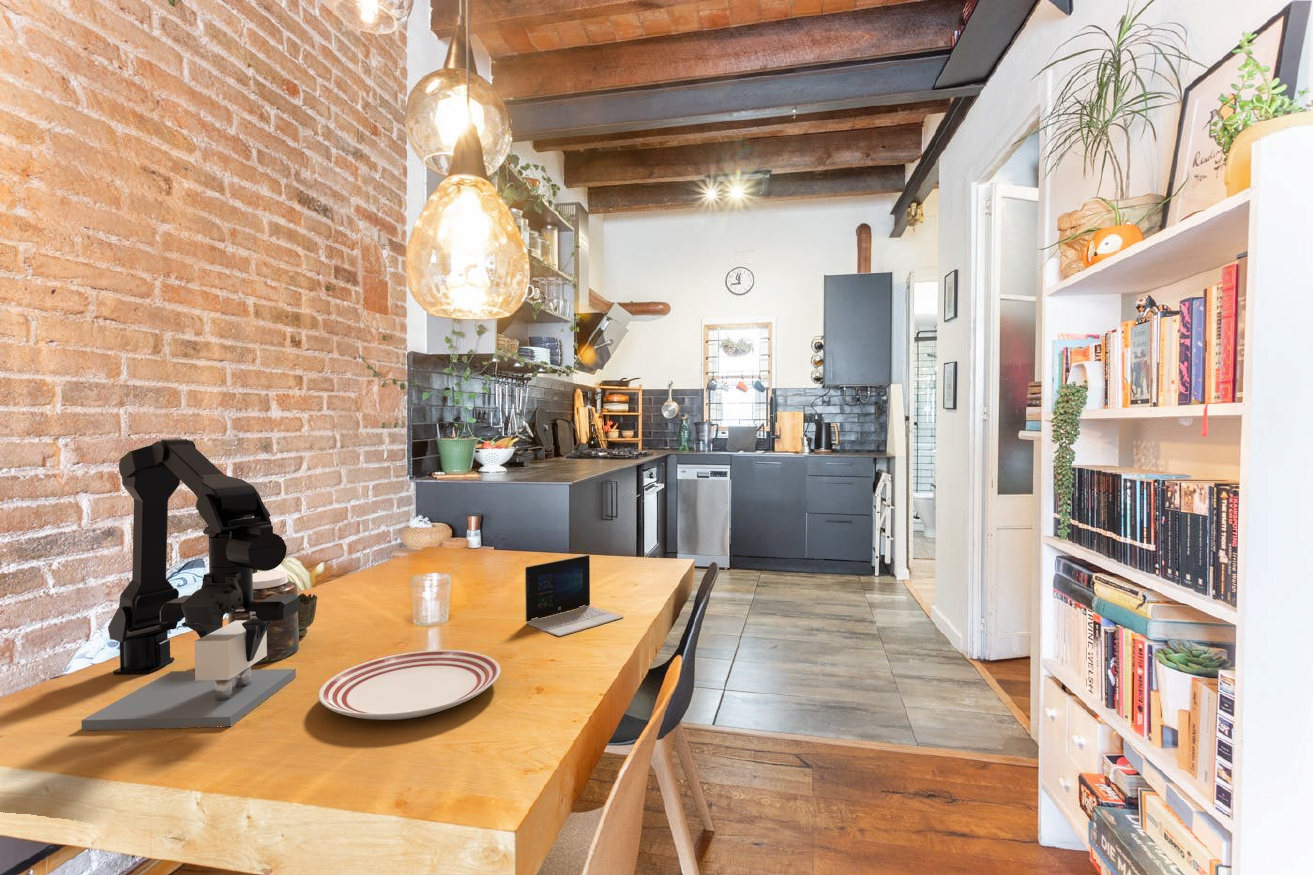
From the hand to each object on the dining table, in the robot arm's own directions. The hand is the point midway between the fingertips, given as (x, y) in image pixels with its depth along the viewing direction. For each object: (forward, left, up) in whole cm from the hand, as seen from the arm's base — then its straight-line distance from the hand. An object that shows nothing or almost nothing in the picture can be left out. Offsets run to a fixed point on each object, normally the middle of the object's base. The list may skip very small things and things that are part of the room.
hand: (232, 661), depth 101 cm
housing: (0, 0, -1) cm, 1 cm away
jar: (-7, +21, -7) cm, 23 cm away
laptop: (+51, +38, -7) cm, 64 cm away
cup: (-6, +31, -7) cm, 32 cm away
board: (-5, 0, -6) cm, 8 cm away
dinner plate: (+28, +1, -7) cm, 29 cm away
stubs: (0, 0, -5) cm, 5 cm away
